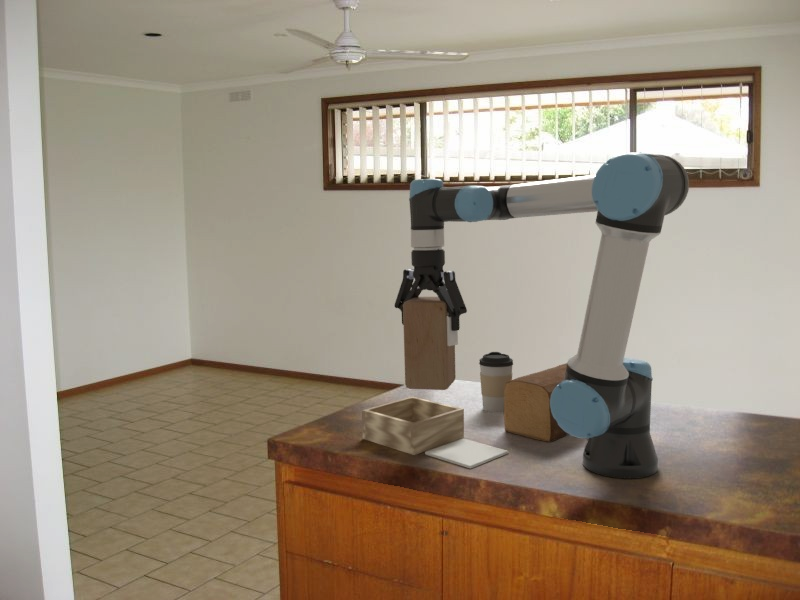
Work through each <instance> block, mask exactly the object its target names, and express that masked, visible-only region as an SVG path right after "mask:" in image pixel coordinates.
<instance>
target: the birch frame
mask: <svg viewBox="0 0 800 600" xmlns="http://www.w3.org/2000/svg"><path fill="white" fill-rule="evenodd" d="M361 416H362V417H361V418H362V421H361V422H362V423H361V424H362V440H365V441H368V442H372V443H375V444H377V445H381V446H384V447H387V448H390V449H394V450H397V451H400V452H403V453H406V454H409V455H412V456H416V455H419V454H421V453H425V452H426V451H429V450H432V449H435V448H438V447H440V446H443V445H446V444H449V443H452V442H454V441H457V440H460V439H463V438H464V439H465V409H464V408H462V407H458V406H454V405H449V404H445V403H441V402H437V401H432V400H430V399H429V400H428V399H425V398H420V397H416V396H412V395H411V396H409V397H405V398H401V399H396V400H394V401H390V402H387V403H383V404H380V405H376V406H373V407H368V408H366V409H362V410H361Z"/></svg>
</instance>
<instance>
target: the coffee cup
mask: <svg viewBox="0 0 800 600" xmlns="http://www.w3.org/2000/svg"><path fill="white" fill-rule="evenodd" d="M478 364H479V367H480V368H479V369H480V370H479V371H480V373H479V377H480V378H479V379H480V391H481V399H482V400H481V401H482V410H483V411H485V412H489V413H504V388H505V385H506V383H507V382H509V381H512V380H513V365H514V359H513V358H511V357H510V356H509V354H505V353H502V352H499V351H491V352H489V353H486V354H484V355H482V357H481V358H479V362H478Z"/></svg>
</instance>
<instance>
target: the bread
mask: <svg viewBox="0 0 800 600" xmlns="http://www.w3.org/2000/svg"><path fill="white" fill-rule="evenodd" d="M566 367H567V362H566V363H563V364H558V365H557V366H554V367H551V368H547V369H544V370H541V371H538V372H534V373H531V374H527V375H523V376H519V377H516V378H514V379H512V381H509V382H507V383H506V385H505V388H504V412H503V416H504V417H503V424H504V431H505V432H508V433H511V434H515V435H518V436H523V437H526V438H530V439H534V440H537V441H542V442H547V443H551V442H554V441H557V440H559V439H561V438H564V437H566V436H568V435H569V434H568V433H566V432H565V431H564V430H563V429H562V428H561V427H560V426H559V425H558V423H557V421H556V419H554V417H553V415H552V412H551V408H550V398H551V394H552V392H553V390H554V388H555V387H556V386H557V385H558V384H559V383H561V382H562V381H564V377H565V372H566Z"/></svg>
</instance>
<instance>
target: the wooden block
mask: <svg viewBox="0 0 800 600" xmlns="http://www.w3.org/2000/svg"><path fill="white" fill-rule="evenodd" d="M448 316H449V313H448V312H447V305H446V302H444V301H441V300H440V299H439V297H438V296H418V297H415V298H412V299H410V300H408V301H406V302H404V304H403V323H404V325H403V346H404V347H403V350H404V353H403V354H404V358H403V359H404V382H405V383H404V384H405V387H406V389H411V390H430V391H431V390H433V391H446V390H448V389H449V388H450V387H451V386H452V385H453V383H454V382H455V380H456V345H453V346H447V317H448Z"/></svg>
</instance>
